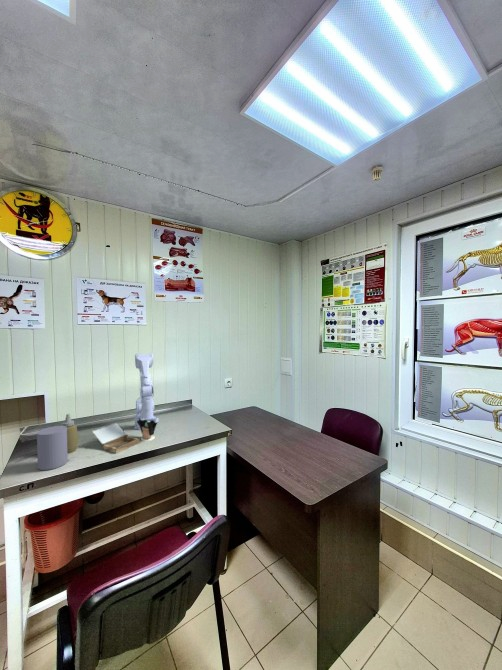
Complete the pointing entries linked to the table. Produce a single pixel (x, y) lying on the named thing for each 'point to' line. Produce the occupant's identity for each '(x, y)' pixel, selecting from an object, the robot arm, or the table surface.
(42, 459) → the container
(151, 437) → the saucer
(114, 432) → the lid
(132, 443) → the cold frame
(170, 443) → the table surface
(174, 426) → the table surface
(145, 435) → the clay pot
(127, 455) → the table surface
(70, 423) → the squeeze bottle
